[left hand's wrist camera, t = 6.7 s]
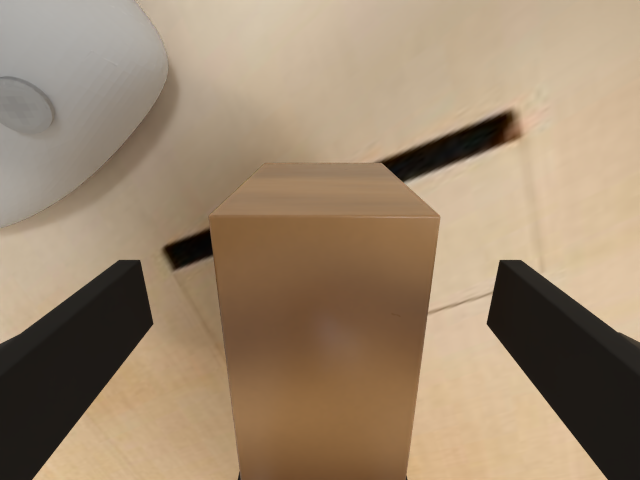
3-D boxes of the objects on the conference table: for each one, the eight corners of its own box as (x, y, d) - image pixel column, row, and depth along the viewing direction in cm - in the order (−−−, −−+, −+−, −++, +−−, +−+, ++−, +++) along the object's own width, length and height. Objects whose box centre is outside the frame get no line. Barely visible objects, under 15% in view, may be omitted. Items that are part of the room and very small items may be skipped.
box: (264, 162, 20) (207, 215, 10) (382, 162, 20) (441, 215, 10) (280, 444, 28) (258, 625, 18) (364, 444, 28) (386, 626, 18)
